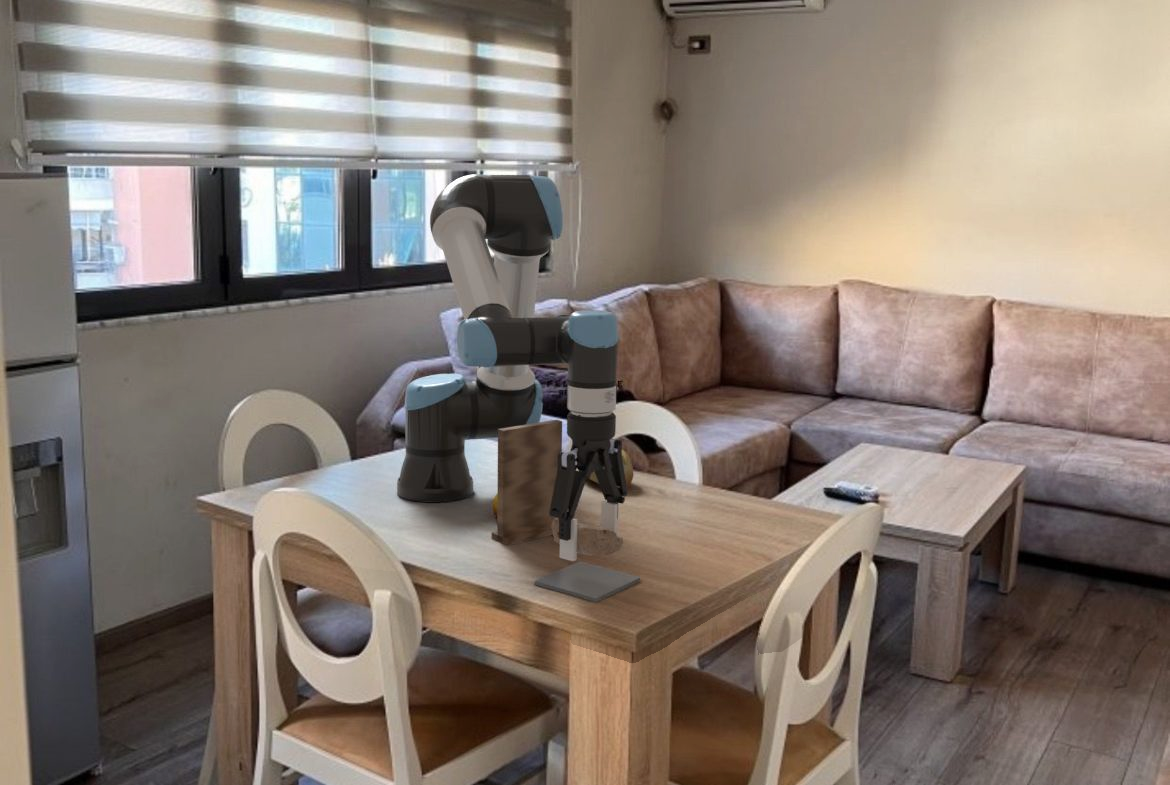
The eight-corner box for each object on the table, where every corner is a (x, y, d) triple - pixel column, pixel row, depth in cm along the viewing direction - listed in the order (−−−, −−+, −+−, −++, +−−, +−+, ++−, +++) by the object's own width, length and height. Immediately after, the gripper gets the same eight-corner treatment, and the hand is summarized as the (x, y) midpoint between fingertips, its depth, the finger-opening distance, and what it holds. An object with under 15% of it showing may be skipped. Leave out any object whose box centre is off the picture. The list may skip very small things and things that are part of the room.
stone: (580, 558, 178) (583, 526, 178) (544, 543, 188) (547, 513, 188) (629, 558, 183) (632, 526, 183) (592, 543, 193) (595, 513, 192)
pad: (534, 584, 185) (534, 580, 185) (580, 564, 194) (580, 561, 194) (596, 602, 178) (596, 598, 178) (640, 580, 187) (640, 577, 187)
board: (508, 545, 203) (509, 432, 199) (491, 537, 207) (492, 427, 203) (566, 531, 212) (568, 422, 208) (548, 524, 215) (550, 417, 212)
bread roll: (603, 472, 253) (604, 436, 251) (645, 489, 241) (646, 451, 239) (566, 478, 247) (566, 441, 246) (607, 495, 235) (608, 457, 234)
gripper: (566, 427, 170) (563, 574, 174) (652, 404, 187) (648, 537, 192) (526, 420, 174) (524, 563, 178) (613, 398, 192) (610, 528, 196)
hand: (588, 550), depth 185 cm, fingers closed on stone, 10 cm apart
